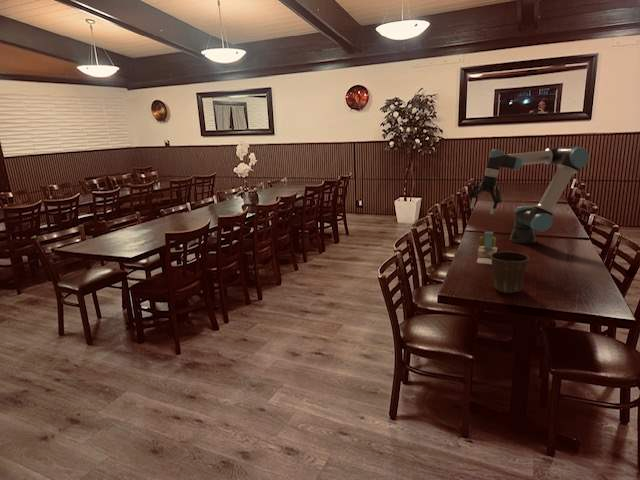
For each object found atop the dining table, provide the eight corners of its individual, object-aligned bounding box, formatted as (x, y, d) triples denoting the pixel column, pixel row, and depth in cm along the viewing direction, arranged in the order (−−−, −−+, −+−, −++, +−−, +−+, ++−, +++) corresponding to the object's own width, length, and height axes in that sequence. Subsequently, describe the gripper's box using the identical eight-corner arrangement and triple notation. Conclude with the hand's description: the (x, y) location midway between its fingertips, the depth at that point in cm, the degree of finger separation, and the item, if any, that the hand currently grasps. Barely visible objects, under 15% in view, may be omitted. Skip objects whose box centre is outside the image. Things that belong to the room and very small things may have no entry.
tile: (494, 260, 239) (494, 259, 238) (493, 264, 231) (493, 263, 231) (478, 258, 242) (478, 257, 242) (476, 263, 234) (476, 262, 234)
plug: (491, 254, 248) (493, 231, 245) (491, 256, 245) (492, 233, 241) (483, 254, 250) (485, 231, 247) (483, 256, 246) (484, 233, 243)
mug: (488, 250, 249) (488, 234, 251) (475, 252, 259) (475, 236, 260) (503, 251, 255) (502, 235, 256) (490, 252, 264) (489, 237, 265)
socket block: (496, 253, 250) (497, 247, 249) (495, 258, 241) (496, 251, 240) (479, 252, 254) (479, 245, 253) (477, 256, 245) (478, 250, 244)
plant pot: (488, 293, 193) (490, 260, 189) (488, 281, 207) (490, 250, 203) (527, 297, 187) (530, 262, 183) (524, 284, 202) (527, 252, 197)
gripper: (469, 172, 254) (460, 206, 259) (507, 179, 235) (496, 216, 240) (475, 173, 259) (467, 206, 264) (513, 180, 240) (503, 216, 245)
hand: (481, 211), depth 252 cm, fingers open, 13 cm apart
